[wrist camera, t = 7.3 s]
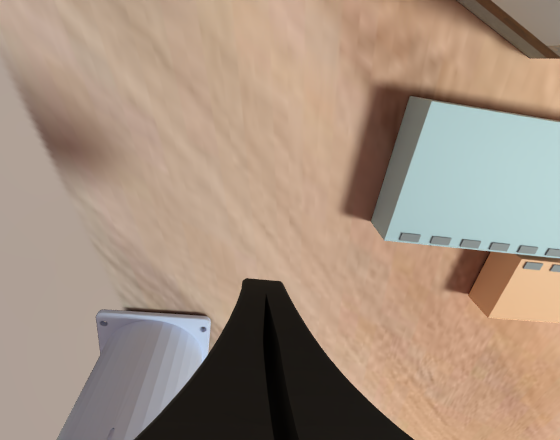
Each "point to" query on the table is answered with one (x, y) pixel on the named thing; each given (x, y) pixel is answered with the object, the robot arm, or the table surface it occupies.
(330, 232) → the table surface
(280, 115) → the table surface
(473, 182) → the notched pale blue slab
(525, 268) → the stub
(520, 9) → the brown-striped cream pillar
